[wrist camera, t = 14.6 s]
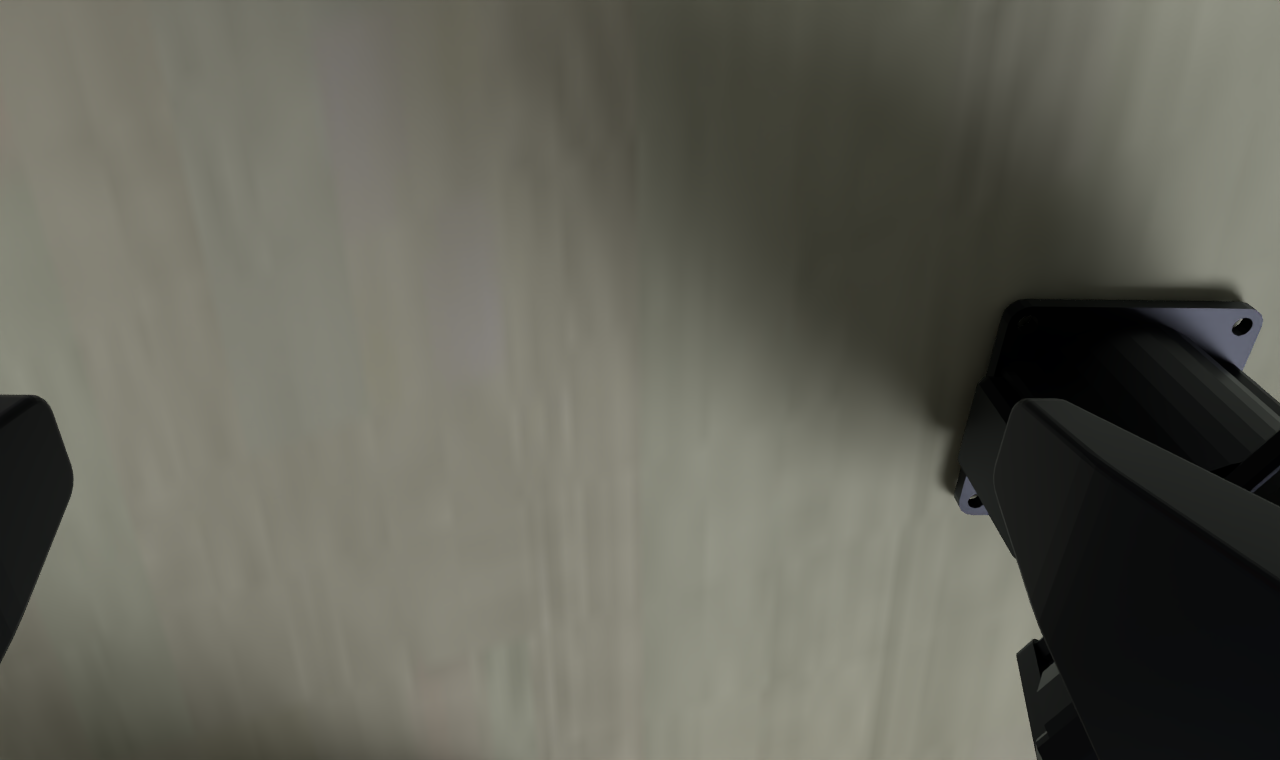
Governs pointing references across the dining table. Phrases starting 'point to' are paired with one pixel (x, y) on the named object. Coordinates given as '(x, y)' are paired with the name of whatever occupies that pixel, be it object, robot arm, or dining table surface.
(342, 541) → the dining table surface
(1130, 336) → the robot arm
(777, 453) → the dining table surface
